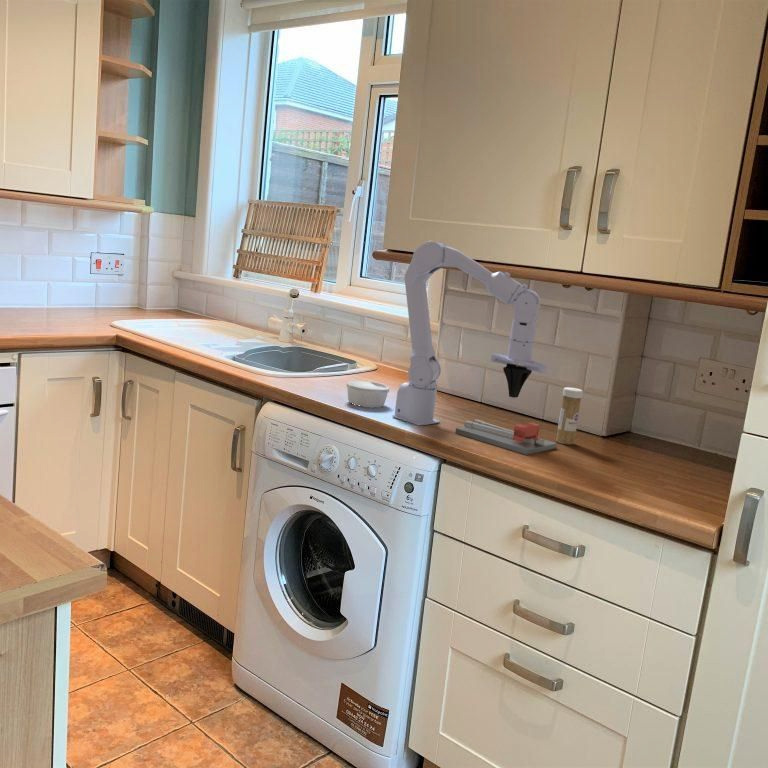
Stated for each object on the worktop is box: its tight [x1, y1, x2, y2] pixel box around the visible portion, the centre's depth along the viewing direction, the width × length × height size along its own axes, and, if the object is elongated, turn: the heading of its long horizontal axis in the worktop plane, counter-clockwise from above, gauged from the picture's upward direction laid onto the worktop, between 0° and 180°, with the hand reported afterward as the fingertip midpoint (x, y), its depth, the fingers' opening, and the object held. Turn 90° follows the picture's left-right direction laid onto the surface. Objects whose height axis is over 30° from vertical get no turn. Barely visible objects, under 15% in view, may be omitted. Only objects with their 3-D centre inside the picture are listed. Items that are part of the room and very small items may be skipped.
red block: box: [513, 422, 540, 443], centre depth 187 cm, size 2×7×4 cm, turn 138°
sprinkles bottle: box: [555, 386, 584, 445], centre depth 195 cm, size 5×5×13 cm
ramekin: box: [346, 380, 390, 408], centre depth 214 cm, size 11×11×5 cm
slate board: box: [455, 426, 558, 456], centre depth 191 cm, size 20×13×1 cm, turn 48°
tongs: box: [463, 419, 545, 447], centre depth 191 cm, size 21×5×1 cm, turn 48°
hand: (513, 396), depth 194 cm, fingers closed
